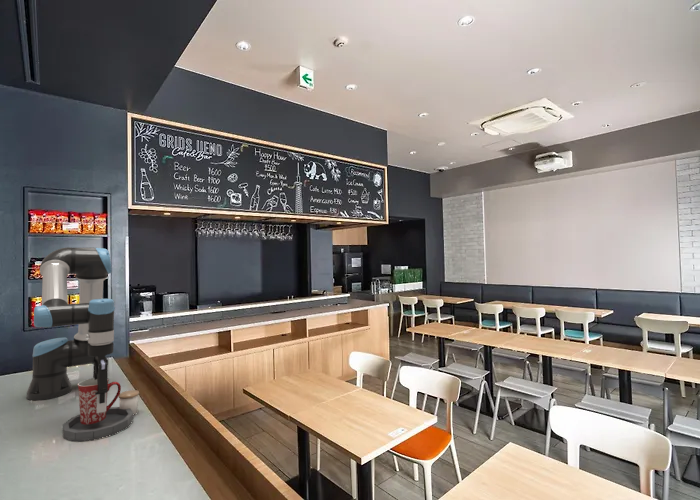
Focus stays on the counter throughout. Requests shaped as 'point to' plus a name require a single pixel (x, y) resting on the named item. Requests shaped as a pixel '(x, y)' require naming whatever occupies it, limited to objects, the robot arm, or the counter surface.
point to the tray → (97, 425)
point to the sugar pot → (129, 400)
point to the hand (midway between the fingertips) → (99, 407)
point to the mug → (92, 401)
